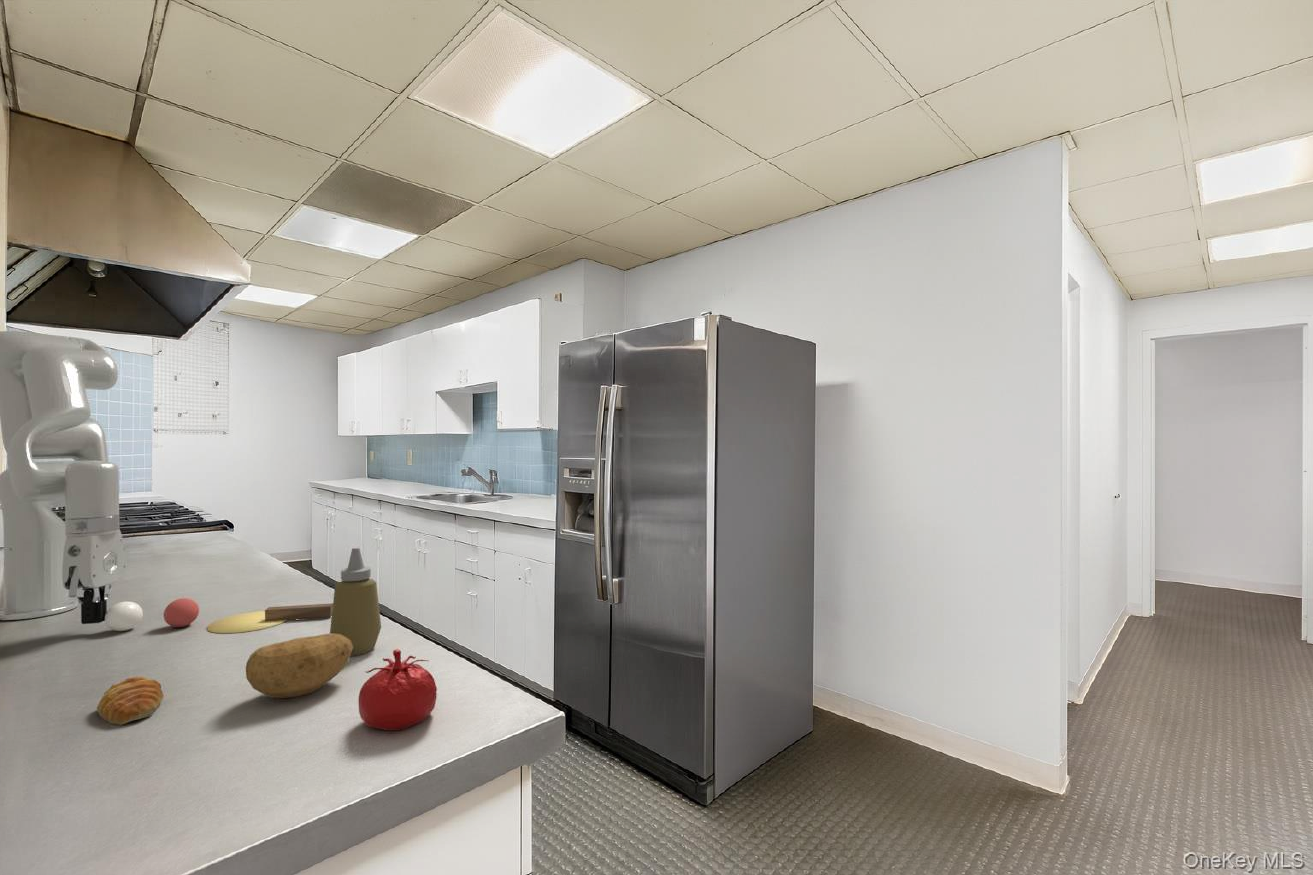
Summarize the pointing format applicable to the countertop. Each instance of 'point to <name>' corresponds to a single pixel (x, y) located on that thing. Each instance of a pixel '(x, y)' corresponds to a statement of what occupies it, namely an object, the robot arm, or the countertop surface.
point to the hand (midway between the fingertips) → (94, 622)
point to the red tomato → (397, 695)
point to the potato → (297, 665)
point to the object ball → (181, 612)
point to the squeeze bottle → (356, 606)
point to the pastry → (130, 700)
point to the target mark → (242, 623)
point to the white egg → (123, 616)
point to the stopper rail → (299, 612)
